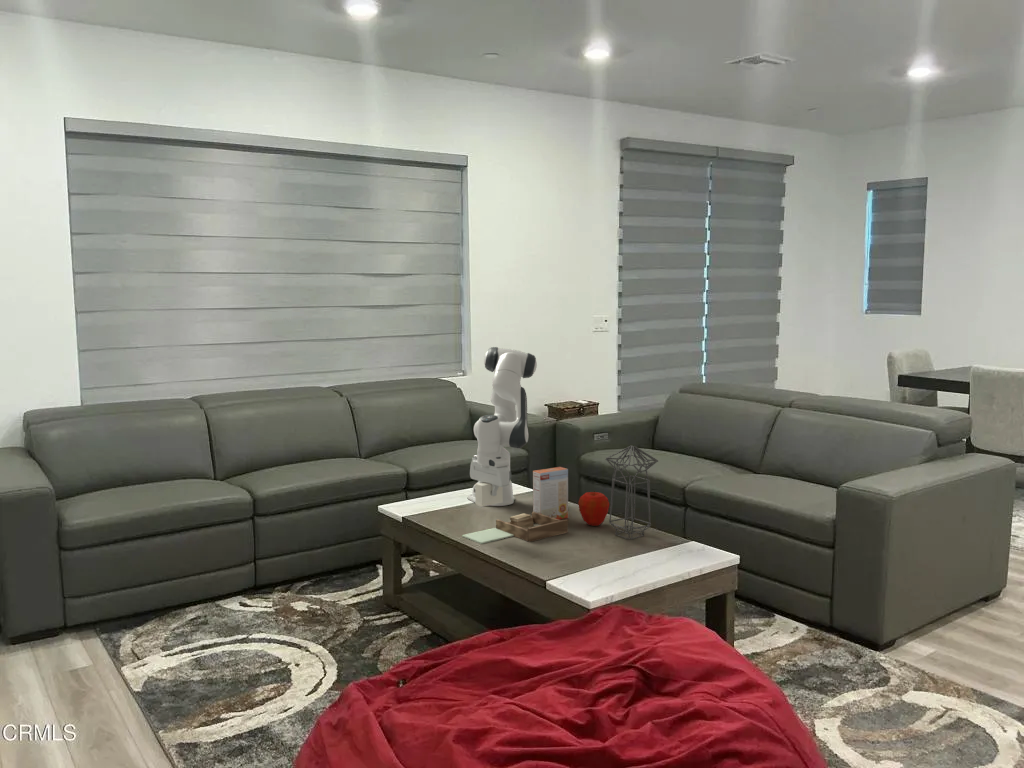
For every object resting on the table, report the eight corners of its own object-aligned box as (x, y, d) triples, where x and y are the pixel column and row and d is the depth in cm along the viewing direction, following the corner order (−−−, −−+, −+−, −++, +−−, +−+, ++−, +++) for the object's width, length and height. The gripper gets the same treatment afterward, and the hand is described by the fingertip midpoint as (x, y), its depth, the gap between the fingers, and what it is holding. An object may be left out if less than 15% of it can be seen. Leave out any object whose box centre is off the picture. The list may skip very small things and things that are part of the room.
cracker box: (560, 515, 359) (560, 466, 357) (568, 518, 354) (569, 468, 352) (532, 520, 352) (532, 469, 349) (540, 523, 347) (540, 472, 344)
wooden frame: (496, 529, 338) (496, 517, 337) (533, 521, 350) (533, 509, 349) (529, 541, 322) (529, 528, 322) (567, 532, 334) (567, 519, 334)
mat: (462, 536, 329) (462, 535, 329) (495, 529, 339) (495, 527, 339) (481, 544, 319) (481, 542, 319) (514, 536, 329) (514, 534, 329)
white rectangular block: (475, 504, 326) (475, 483, 325) (496, 500, 332) (496, 480, 331) (481, 506, 323) (481, 485, 322) (502, 502, 329) (502, 481, 328)
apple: (572, 524, 346) (572, 490, 344) (592, 519, 354) (592, 485, 352) (594, 531, 336) (595, 496, 335) (615, 525, 344) (615, 491, 343)
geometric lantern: (601, 533, 333) (602, 444, 329) (631, 527, 342) (633, 440, 338) (629, 544, 320) (631, 451, 316) (659, 536, 329) (661, 446, 325)
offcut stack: (508, 529, 339) (508, 517, 338) (526, 524, 346) (526, 512, 345) (516, 531, 336) (516, 519, 335) (533, 526, 343) (533, 514, 343)
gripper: (465, 455, 331) (466, 490, 333) (499, 463, 316) (499, 500, 317) (478, 453, 335) (479, 488, 337) (512, 461, 320) (512, 497, 321)
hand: (489, 494), depth 327 cm, fingers closed on white rectangular block, 4 cm apart
